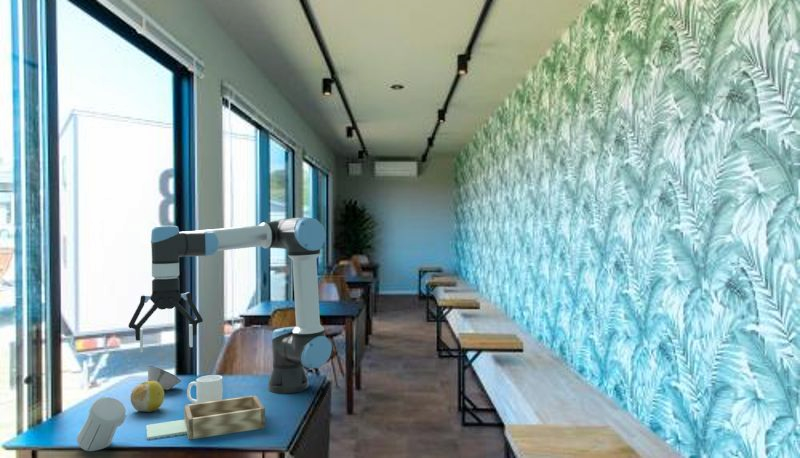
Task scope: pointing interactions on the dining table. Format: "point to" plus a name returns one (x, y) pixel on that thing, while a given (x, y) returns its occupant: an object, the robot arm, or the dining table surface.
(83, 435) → the cup
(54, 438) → the dining table surface
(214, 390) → the cup
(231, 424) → the caddy
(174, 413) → the dining table surface
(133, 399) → the fruit
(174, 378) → the bowl
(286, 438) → the dining table surface
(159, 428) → the mat
